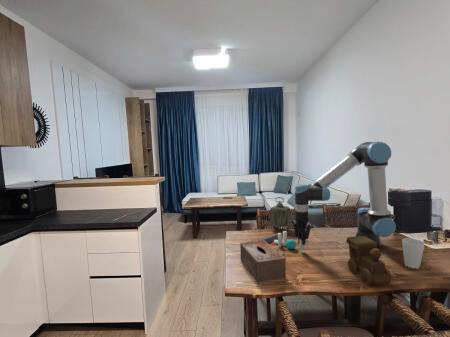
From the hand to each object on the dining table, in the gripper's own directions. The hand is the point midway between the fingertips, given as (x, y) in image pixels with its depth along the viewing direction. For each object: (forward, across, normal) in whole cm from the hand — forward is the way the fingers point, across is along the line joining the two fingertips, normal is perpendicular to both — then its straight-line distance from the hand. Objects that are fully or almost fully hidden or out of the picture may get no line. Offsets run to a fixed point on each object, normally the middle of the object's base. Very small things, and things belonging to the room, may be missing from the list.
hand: (301, 249), depth 154 cm
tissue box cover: (+2, -2, -32) cm, 33 cm away
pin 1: (+2, -14, -2) cm, 15 cm away
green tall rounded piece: (+2, -36, +24) cm, 43 cm away
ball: (-1, -7, -1) cm, 7 cm away
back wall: (+2, -25, 0) cm, 25 cm away
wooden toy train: (+2, +38, -2) cm, 38 cm away
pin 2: (+2, -14, +2) cm, 15 cm away
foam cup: (+2, +48, +27) cm, 55 cm away
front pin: (+1, -12, 0) cm, 12 cm away
